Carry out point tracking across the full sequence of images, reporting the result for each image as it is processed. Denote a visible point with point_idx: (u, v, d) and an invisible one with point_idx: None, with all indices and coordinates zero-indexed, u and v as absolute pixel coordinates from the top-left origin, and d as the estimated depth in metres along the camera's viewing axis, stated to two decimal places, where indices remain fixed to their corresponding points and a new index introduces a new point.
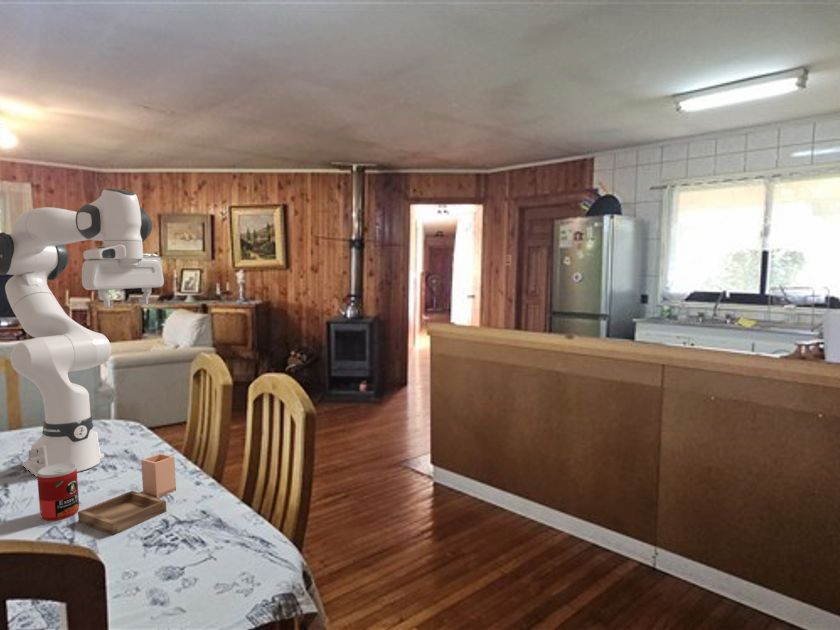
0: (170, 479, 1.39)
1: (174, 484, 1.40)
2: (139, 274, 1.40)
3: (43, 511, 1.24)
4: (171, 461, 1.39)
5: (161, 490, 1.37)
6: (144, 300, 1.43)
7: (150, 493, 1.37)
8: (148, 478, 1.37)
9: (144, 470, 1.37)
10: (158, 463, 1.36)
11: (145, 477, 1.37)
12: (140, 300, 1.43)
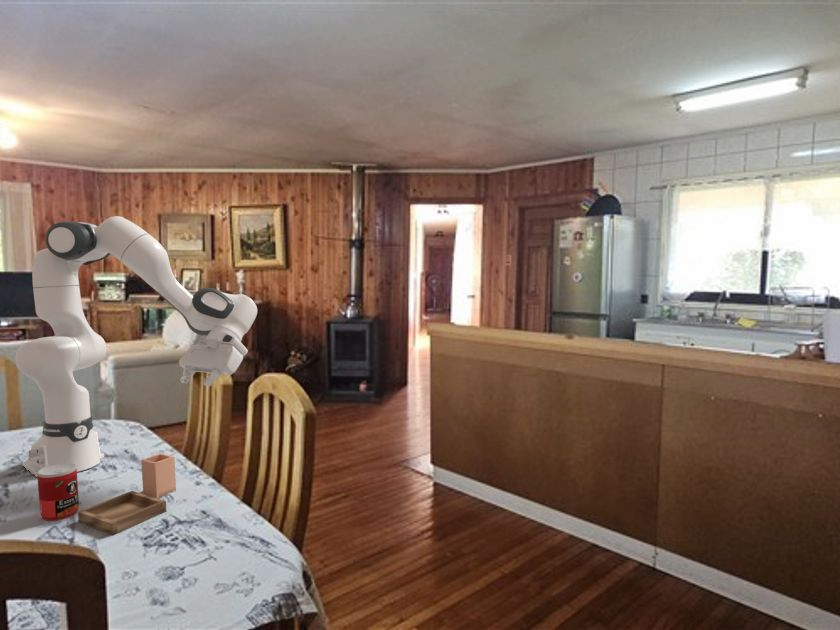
0: (170, 479, 1.39)
1: (174, 484, 1.40)
2: None
3: (43, 511, 1.24)
4: (171, 461, 1.39)
5: (161, 490, 1.37)
6: None
7: (150, 493, 1.37)
8: (148, 478, 1.37)
9: (144, 470, 1.37)
10: (158, 463, 1.36)
11: (145, 477, 1.37)
12: (186, 378, 1.50)
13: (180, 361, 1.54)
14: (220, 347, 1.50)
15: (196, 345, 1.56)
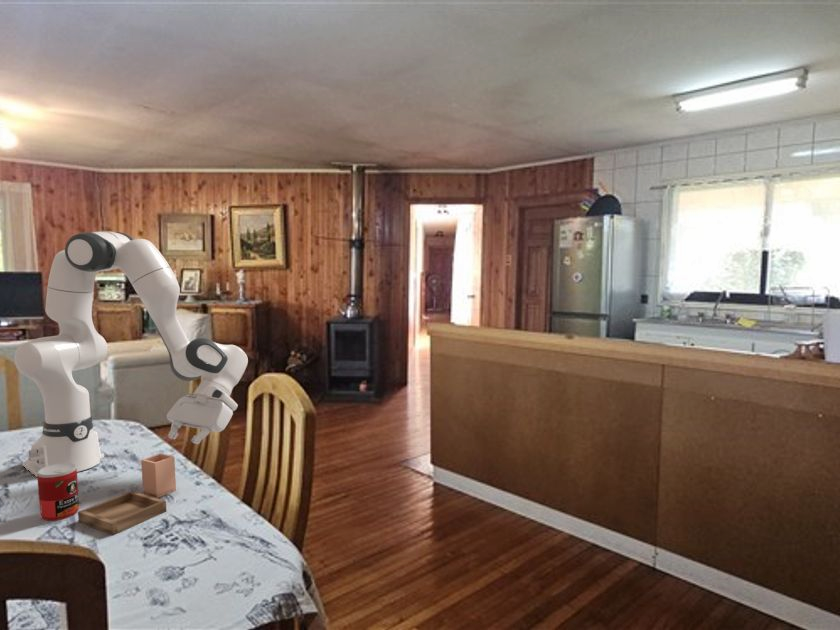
0: (170, 479, 1.39)
1: (174, 484, 1.40)
2: None
3: (43, 511, 1.24)
4: (171, 461, 1.39)
5: (161, 490, 1.37)
6: None
7: (150, 493, 1.37)
8: (148, 478, 1.37)
9: (144, 470, 1.37)
10: (158, 463, 1.36)
11: (145, 477, 1.37)
12: (174, 433, 1.47)
13: (168, 415, 1.51)
14: (210, 402, 1.47)
15: (184, 398, 1.53)
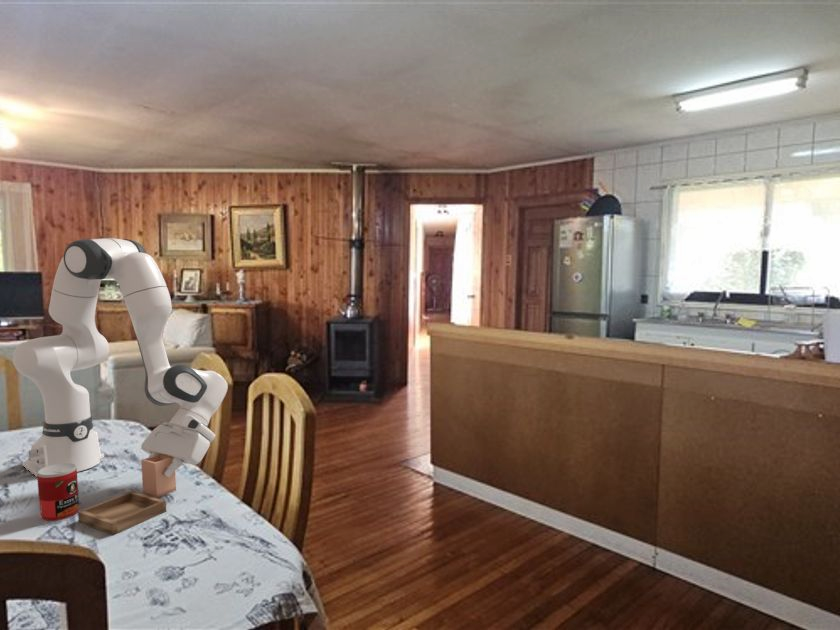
0: (170, 479, 1.39)
1: (174, 484, 1.40)
2: None
3: (43, 511, 1.24)
4: (171, 461, 1.39)
5: (161, 490, 1.37)
6: None
7: (150, 493, 1.37)
8: (148, 478, 1.37)
9: (144, 470, 1.37)
10: (158, 463, 1.36)
11: (145, 477, 1.37)
12: None
13: (143, 445, 1.44)
14: (186, 433, 1.41)
15: (160, 427, 1.47)
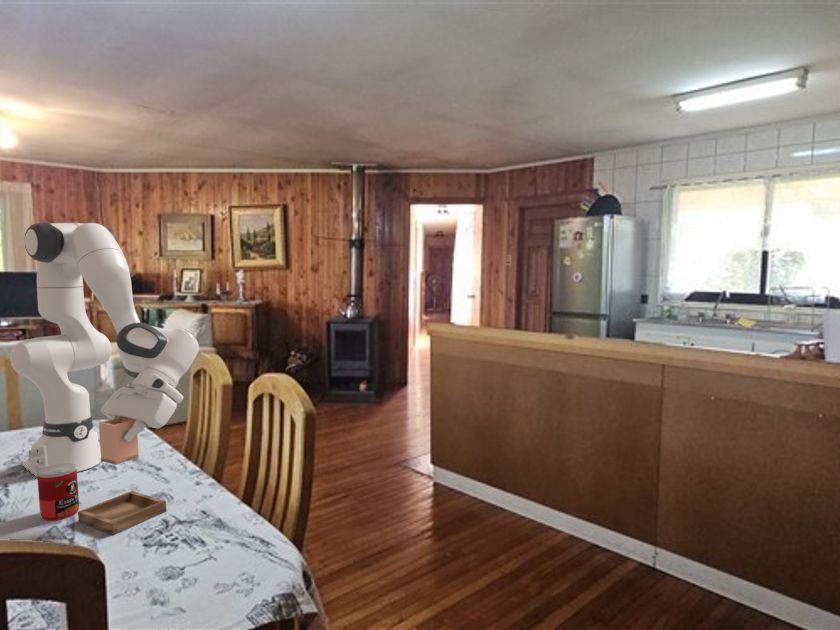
0: (131, 444, 1.24)
1: (136, 450, 1.25)
2: None
3: (43, 511, 1.24)
4: None
5: (121, 456, 1.22)
6: None
7: (108, 460, 1.22)
8: (106, 443, 1.22)
9: (102, 434, 1.22)
10: (117, 426, 1.21)
11: (103, 442, 1.22)
12: None
13: (102, 408, 1.30)
14: (149, 394, 1.26)
15: (123, 388, 1.32)
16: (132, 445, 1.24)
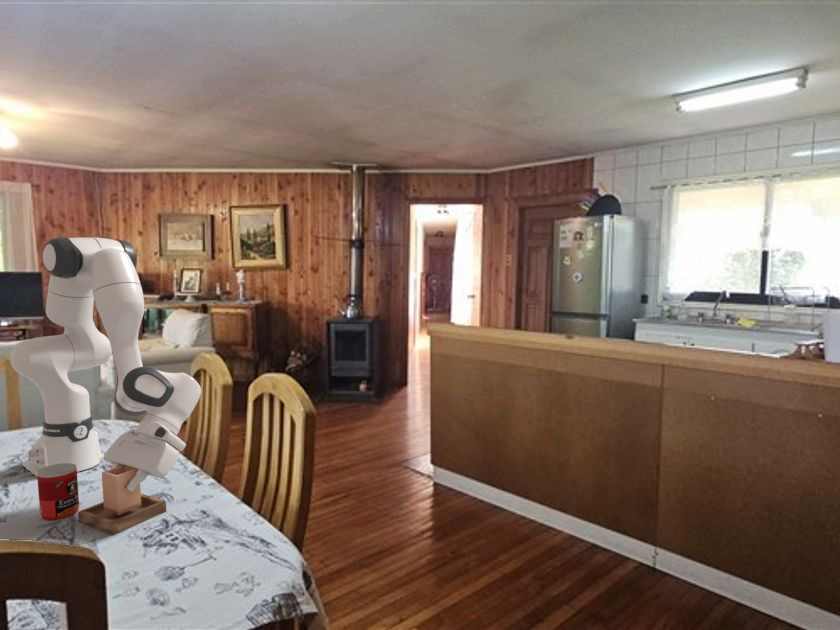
0: (134, 493, 1.25)
1: (139, 499, 1.26)
2: None
3: (43, 511, 1.24)
4: (135, 473, 1.25)
5: (123, 506, 1.23)
6: None
7: (111, 509, 1.23)
8: (109, 492, 1.23)
9: (105, 484, 1.23)
10: (120, 476, 1.22)
11: (106, 491, 1.23)
12: None
13: (105, 455, 1.31)
14: (152, 442, 1.27)
15: (125, 435, 1.33)
16: (135, 494, 1.25)
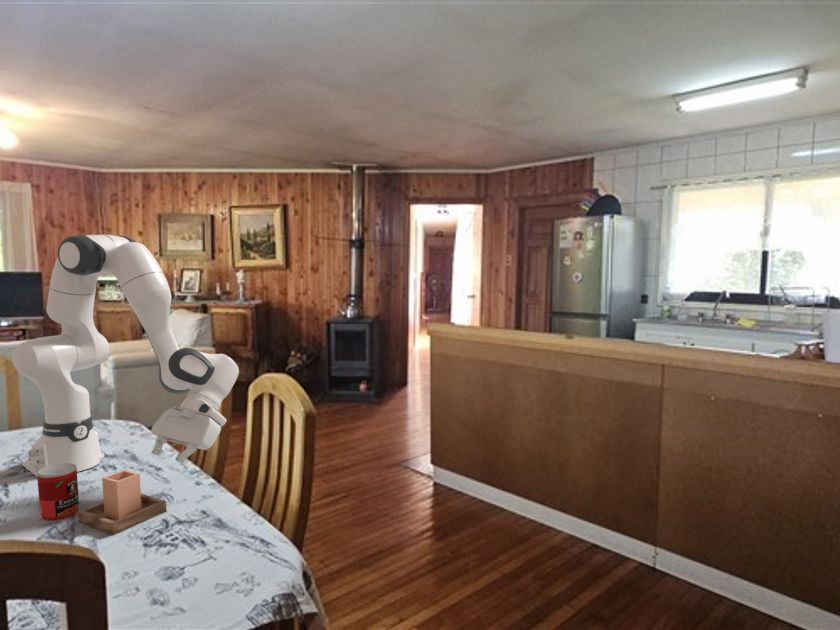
0: (135, 499, 1.25)
1: (139, 504, 1.26)
2: None
3: (43, 511, 1.24)
4: (136, 479, 1.25)
5: (124, 511, 1.23)
6: None
7: (112, 515, 1.23)
8: (110, 498, 1.23)
9: (105, 489, 1.23)
10: (120, 482, 1.22)
11: (106, 497, 1.23)
12: (159, 450, 1.38)
13: (153, 429, 1.42)
14: (196, 417, 1.37)
15: (170, 411, 1.44)
16: (135, 499, 1.25)
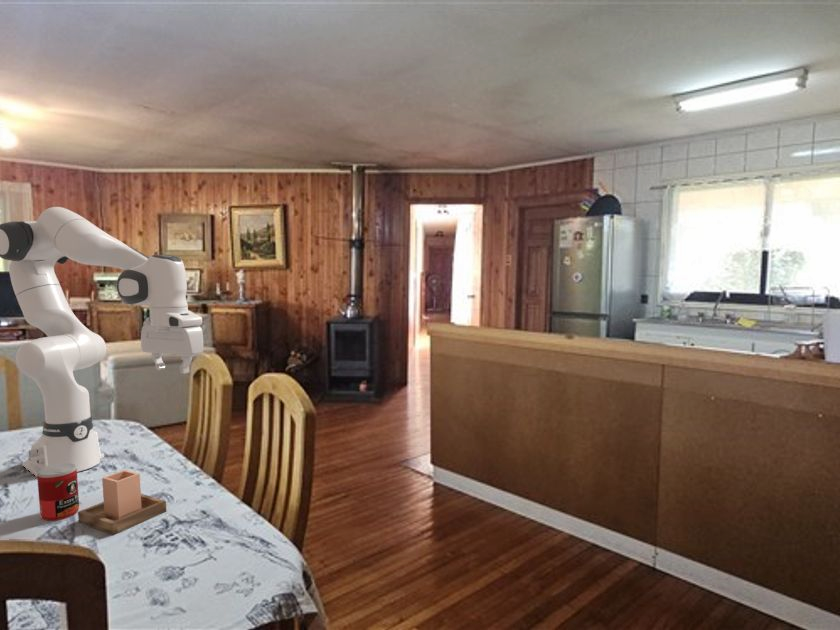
0: (135, 499, 1.25)
1: (139, 504, 1.26)
2: None
3: (43, 511, 1.24)
4: (136, 479, 1.25)
5: (124, 511, 1.23)
6: None
7: (112, 515, 1.23)
8: (110, 498, 1.23)
9: (105, 489, 1.23)
10: (120, 482, 1.22)
11: (106, 497, 1.23)
12: (161, 365, 1.41)
13: (142, 349, 1.41)
14: (173, 331, 1.34)
15: (146, 327, 1.40)
16: (135, 499, 1.25)
